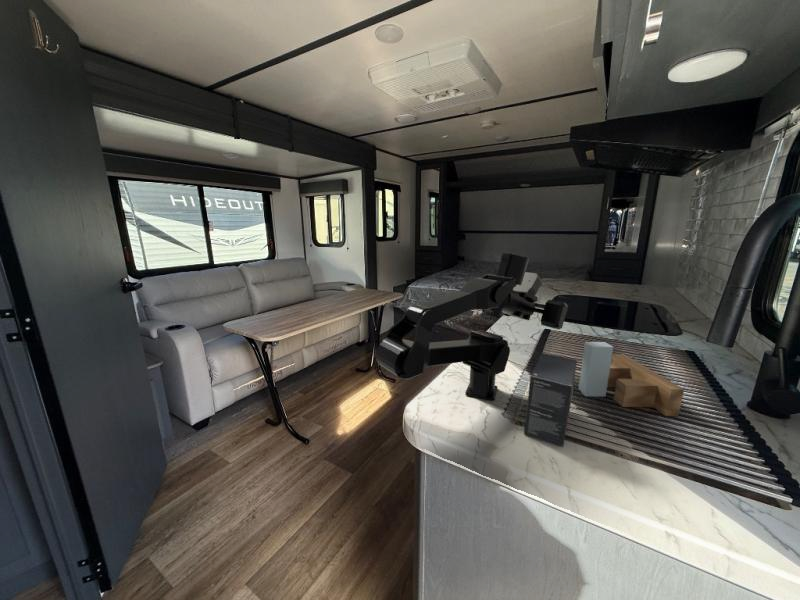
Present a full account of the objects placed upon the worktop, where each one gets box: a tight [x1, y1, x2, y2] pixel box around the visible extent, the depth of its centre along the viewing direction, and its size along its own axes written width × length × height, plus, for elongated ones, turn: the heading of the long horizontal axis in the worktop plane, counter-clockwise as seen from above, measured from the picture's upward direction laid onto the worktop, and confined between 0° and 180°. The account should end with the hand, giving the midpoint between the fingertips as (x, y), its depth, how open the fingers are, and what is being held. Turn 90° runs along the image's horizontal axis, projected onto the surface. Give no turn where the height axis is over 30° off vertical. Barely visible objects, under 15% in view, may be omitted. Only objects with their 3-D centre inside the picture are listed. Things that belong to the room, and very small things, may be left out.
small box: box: [523, 352, 578, 447], centre depth 60 cm, size 13×7×12 cm, turn 148°
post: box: [578, 341, 614, 397], centre depth 71 cm, size 4×3×12 cm, turn 89°
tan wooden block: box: [607, 353, 685, 417], centre depth 72 cm, size 9×18×6 cm, turn 179°
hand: (541, 314), depth 83 cm, fingers open, 9 cm apart
